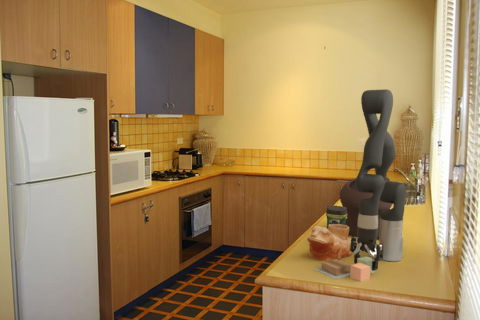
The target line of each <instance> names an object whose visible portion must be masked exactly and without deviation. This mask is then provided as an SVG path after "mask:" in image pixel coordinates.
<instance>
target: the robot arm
mask: <svg viewBox="0 0 480 320" xmlns="http://www.w3.org/2000/svg"><path fill="white" fill-rule="evenodd" d="M360 102H361V109H362V112H363V113H362V114H363V117H364V120H365V124H366V127H367V132H368V138H367V139H366V141H365V144H364V147H363V155H362V161H361V162H362V163H361V165H360V169H359V171H358V174H357V176H356V177H355V178H356V182H355V185H356V188H357V190H358V191H361V192H370V193H373V196H372V197H370V198H363V199H361V200H360V203H359V216H358V226H357V237H355V236H352V237H351V238H350V240H351V246H350V252H352V254H353V263H354V264H357V258H361V255H360V254H361V252H365V253H367V254H368V255H369V256H370V258H372V260H373V261H372V270H373V271H376V272H377V270H378V268H379V262H380V261H387V262H400V261H401V259H403V250H404V236H403V226H404V225H403V224H404V213H405V203H406V195H407V187H406V184H405V183H404V182H398V181H391V180H390V181H388V180H387V178H388V176H387V174H388V171H389V169H390V168H391V166H392V164H393V163H394V161H395V159H396V157H397V152H396V145H395V141H394V138H393V137H392V135H391V134H390V133H389V131H388V129H389V123H390V119H391V117H392V111H393V106H394V96H393V93H392V91H391V90H390V89H386V88H385V89H367V90H364V91H363V92H362V95H361V99H360ZM377 114H378V115H379V118H378V116H377ZM373 169H374V170H375V171H374V172H375V174H374V173H369V171H370V170H373ZM379 200H380V201H382V202H386V203H392V208H390V209H389V210H384V211H382V212H381V214H380V234H379V239H377V234H378V205H379ZM377 240H378V243H377ZM369 256H368V257H369Z"/></svg>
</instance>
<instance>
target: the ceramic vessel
mask: <svg viewBox="0 0 480 320" xmlns="http://www.w3.org/2000/svg"><path fill="white" fill-rule="evenodd" d="M348 233H349V227H348V226H346V225H341V224H330V225H328V229H327V227H323V226H319V225H315V226H314V227H312V229H311V233H310V234H309V235H308V236H307V237H306V240H307V242H308V243H309V245H308V246H309V249H308V250H309V253H308V257H309V258H312V259H316V260H318V261H322V262H326V261H330V260H334V259H338V260H340V261H341V260H342V259H343V258H348V257H351V255H352V254H353V252H350V246H351V238H349V234H348Z"/></svg>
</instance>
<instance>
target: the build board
mask: <svg viewBox="0 0 480 320" xmlns="http://www.w3.org/2000/svg"><path fill="white" fill-rule="evenodd" d="M321 268H322V267H318V268H314V269H313V270H314V271H317V272H319V273H322V274H324V275H325V276H328V277H331V278H333V279H335V280H337V279H341V278H345V277H350V273H347V274H343V275H339V276H335V275H332V274H330V273H328V272H325V271H323V270H321Z"/></svg>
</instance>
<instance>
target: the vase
mask: <svg viewBox="0 0 480 320" xmlns="http://www.w3.org/2000/svg"><path fill="white" fill-rule="evenodd" d="M356 178H357V177H355V178H352V179H350V180H349V181H347V182H346V183H345V184H344V185H343V186H342V188H341V189H340V190H339V200H340V204H341V206H343V207H346V208H347V217H346V222H345V225H346V226H348V227H349V233H348V236H349V235H350V236H352V237H357V226H358V216H359V203H360V200H361V199H363V198H370V197H372V196H373V193H370V192H361V191H358V190H357V188H356V185H355V182H356ZM387 180H388V181H391V180H390V178H389V177H387ZM391 207H393V203H386V202H382V201H380V200H379V205H378V234H377V239H376V240H379V234H380V214H381V212H382V211H384V210H389V209H392V208H391Z"/></svg>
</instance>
